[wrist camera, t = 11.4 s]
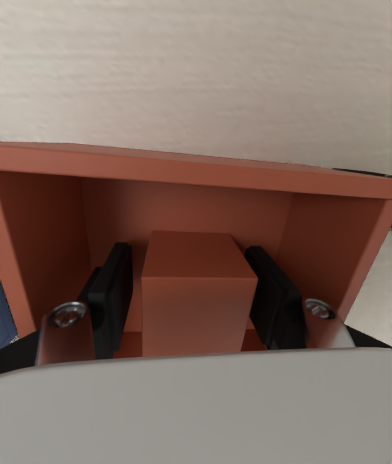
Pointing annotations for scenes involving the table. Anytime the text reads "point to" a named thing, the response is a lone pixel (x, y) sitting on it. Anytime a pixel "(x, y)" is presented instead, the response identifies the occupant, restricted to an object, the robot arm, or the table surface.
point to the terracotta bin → (177, 222)
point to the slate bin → (5, 322)
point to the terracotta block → (194, 294)
